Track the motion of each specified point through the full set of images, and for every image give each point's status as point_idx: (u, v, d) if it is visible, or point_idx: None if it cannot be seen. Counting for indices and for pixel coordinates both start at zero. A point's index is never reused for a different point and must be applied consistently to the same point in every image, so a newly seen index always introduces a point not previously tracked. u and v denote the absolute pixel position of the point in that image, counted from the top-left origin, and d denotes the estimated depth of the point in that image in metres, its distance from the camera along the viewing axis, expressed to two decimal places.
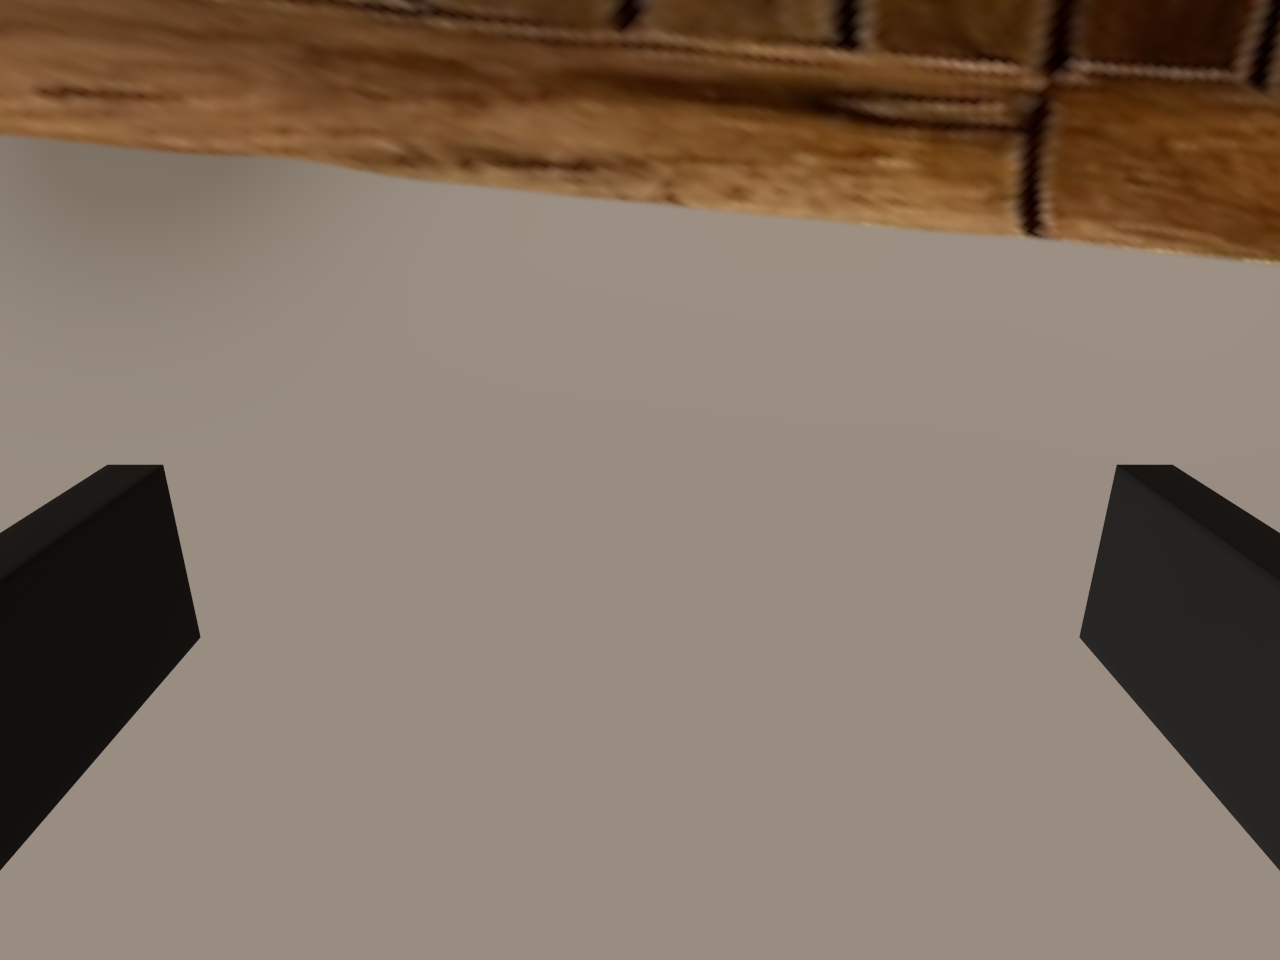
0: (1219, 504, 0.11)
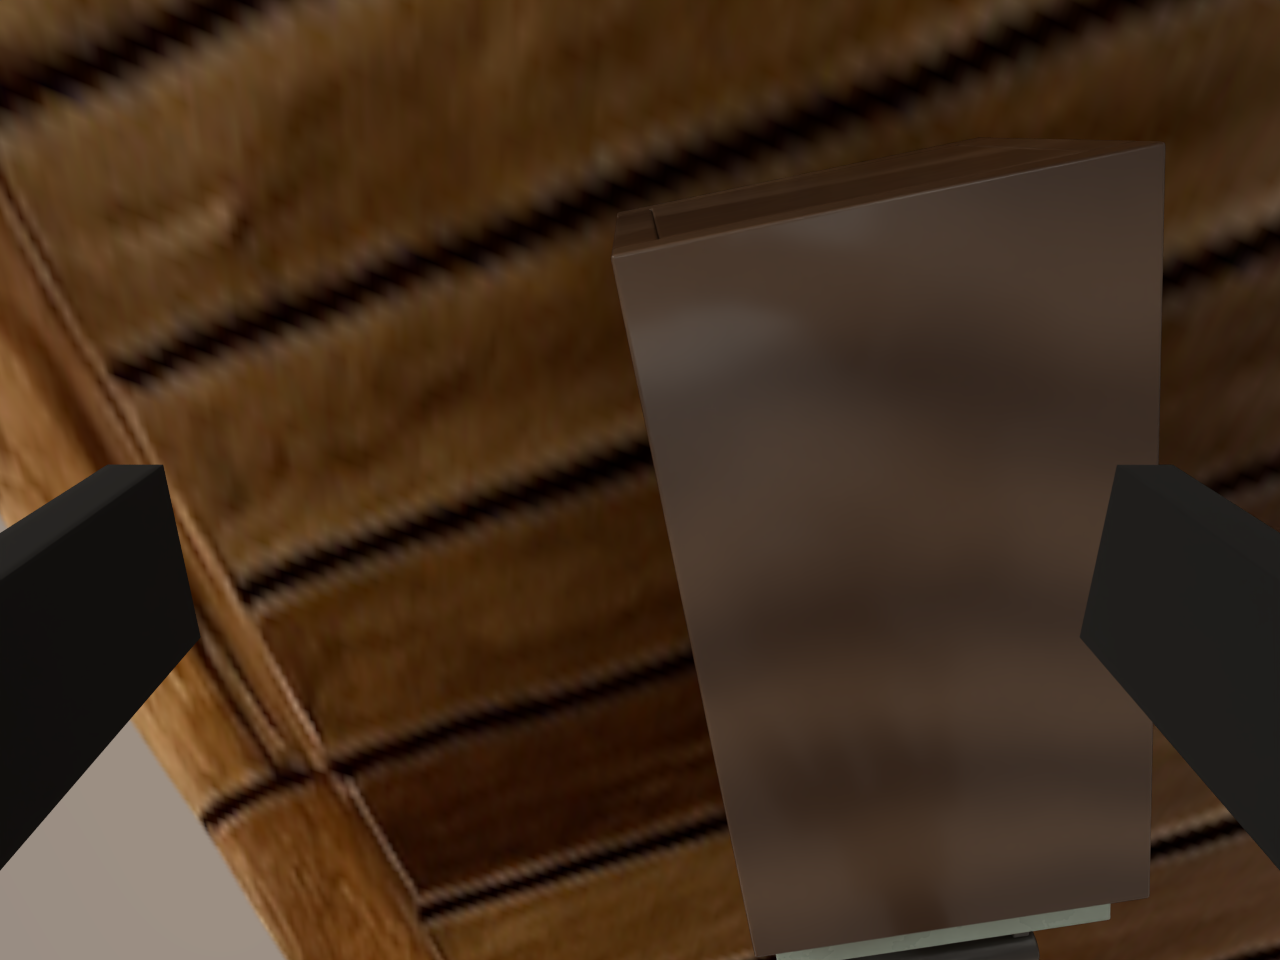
0: (1219, 504, 0.11)
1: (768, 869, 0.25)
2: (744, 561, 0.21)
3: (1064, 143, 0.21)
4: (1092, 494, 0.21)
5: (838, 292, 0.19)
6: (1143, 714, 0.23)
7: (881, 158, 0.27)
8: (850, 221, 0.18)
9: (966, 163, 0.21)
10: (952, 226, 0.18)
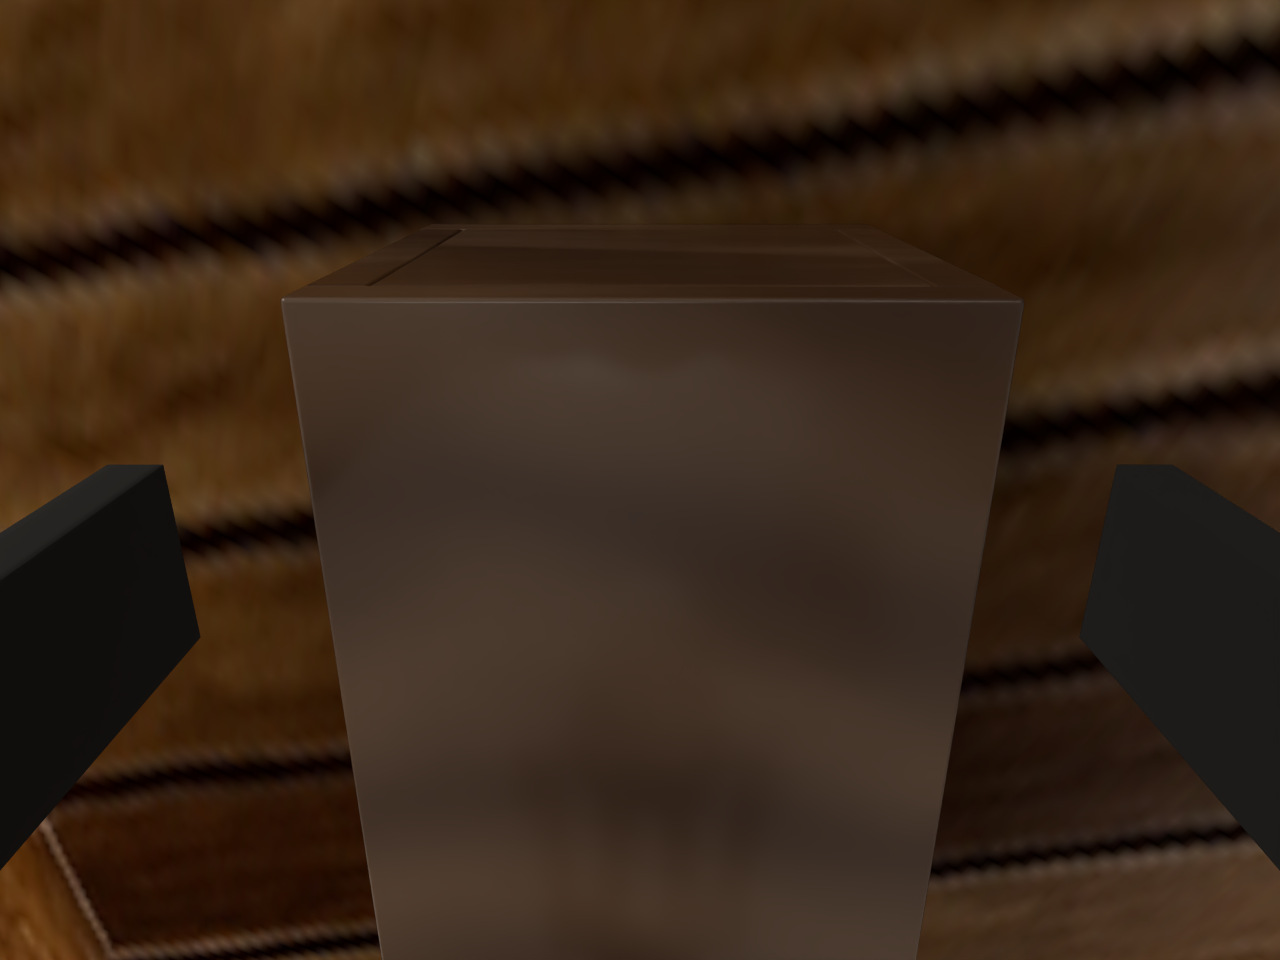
0: (1218, 504, 0.11)
1: None
2: (431, 710, 0.16)
3: (928, 263, 0.17)
4: (875, 707, 0.16)
5: (581, 405, 0.14)
6: None
7: (750, 225, 0.23)
8: (605, 318, 0.14)
9: (805, 263, 0.17)
10: (738, 350, 0.14)
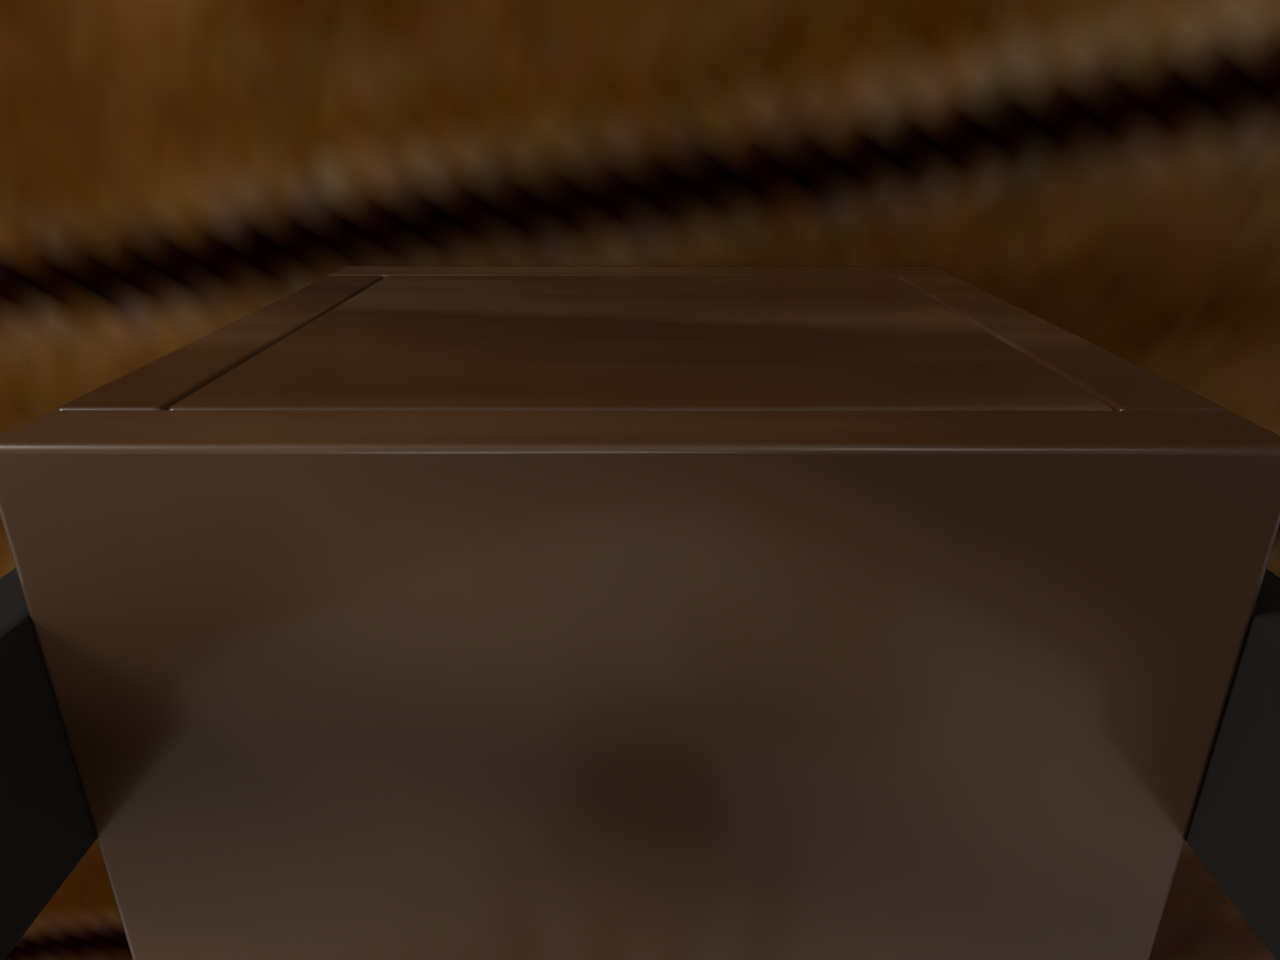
0: None
1: None
2: None
3: (1070, 349, 0.11)
4: None
5: (520, 618, 0.08)
6: None
7: (777, 268, 0.17)
8: (559, 480, 0.08)
9: (880, 348, 0.11)
10: (792, 532, 0.08)
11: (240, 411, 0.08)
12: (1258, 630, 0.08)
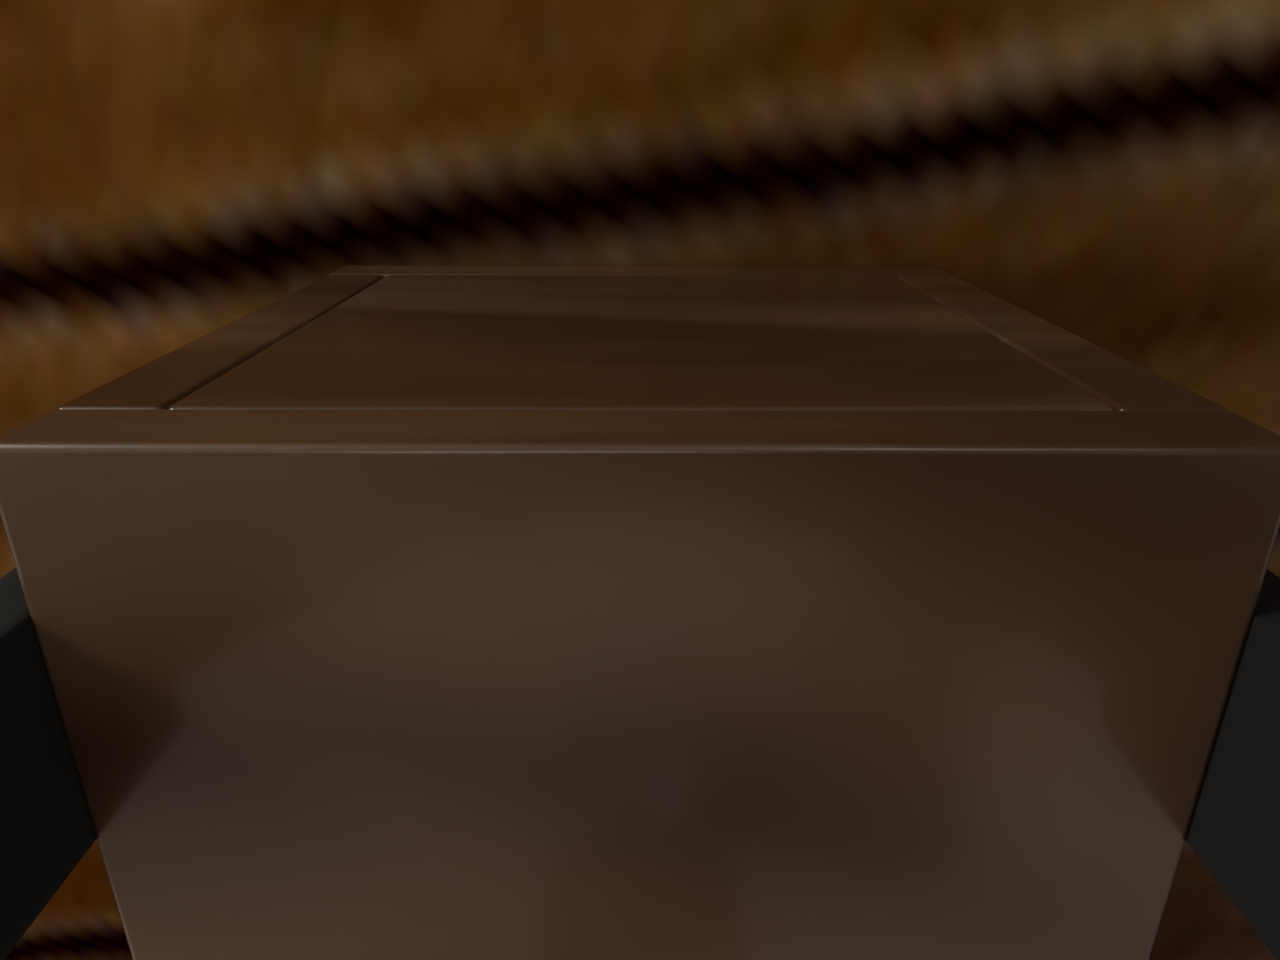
0: None
1: None
2: None
3: (1070, 349, 0.11)
4: None
5: (520, 618, 0.08)
6: None
7: (777, 268, 0.17)
8: (559, 478, 0.08)
9: (880, 348, 0.11)
10: (793, 532, 0.08)
11: (240, 410, 0.08)
12: (1258, 630, 0.08)
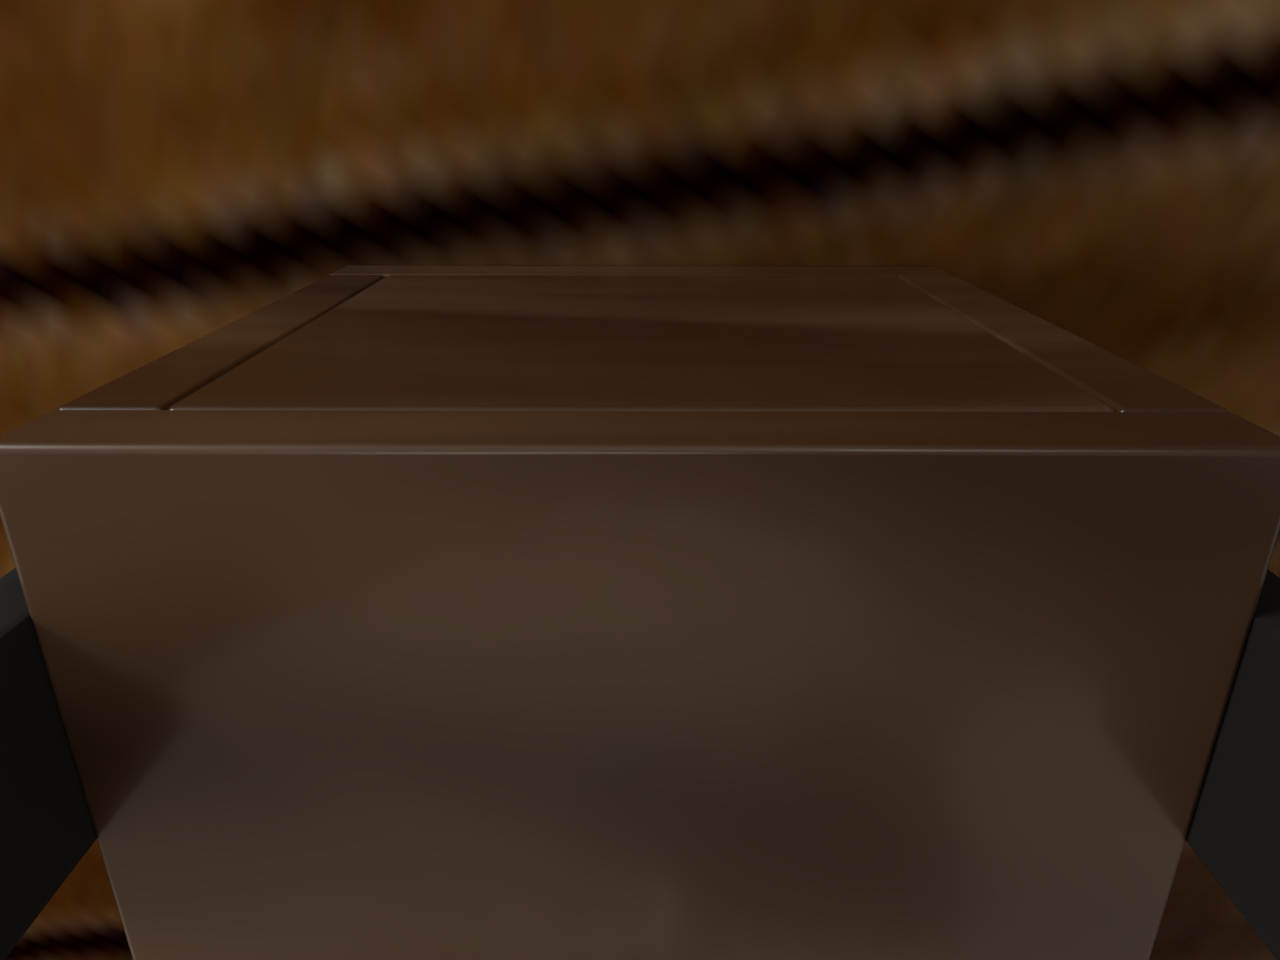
0: None
1: None
2: None
3: (1071, 350, 0.11)
4: None
5: (520, 618, 0.08)
6: None
7: (778, 268, 0.17)
8: (560, 480, 0.08)
9: (881, 349, 0.11)
10: (793, 533, 0.08)
11: (240, 411, 0.08)
12: (1258, 630, 0.08)
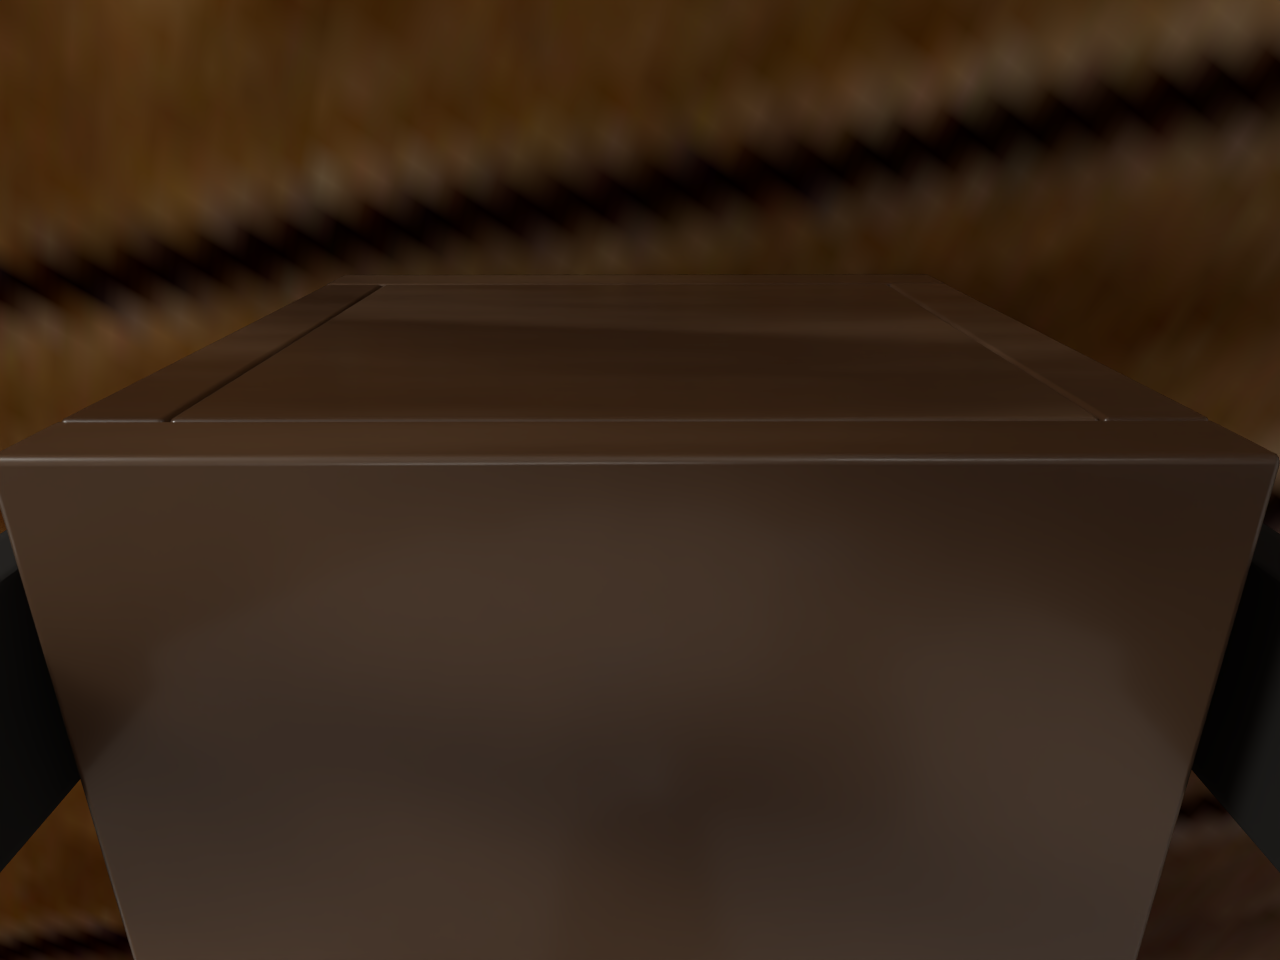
0: None
1: None
2: None
3: (1057, 359, 0.11)
4: None
5: (517, 626, 0.08)
6: None
7: (771, 276, 0.17)
8: (555, 490, 0.08)
9: (871, 358, 0.11)
10: (784, 541, 0.08)
11: (241, 423, 0.09)
12: None
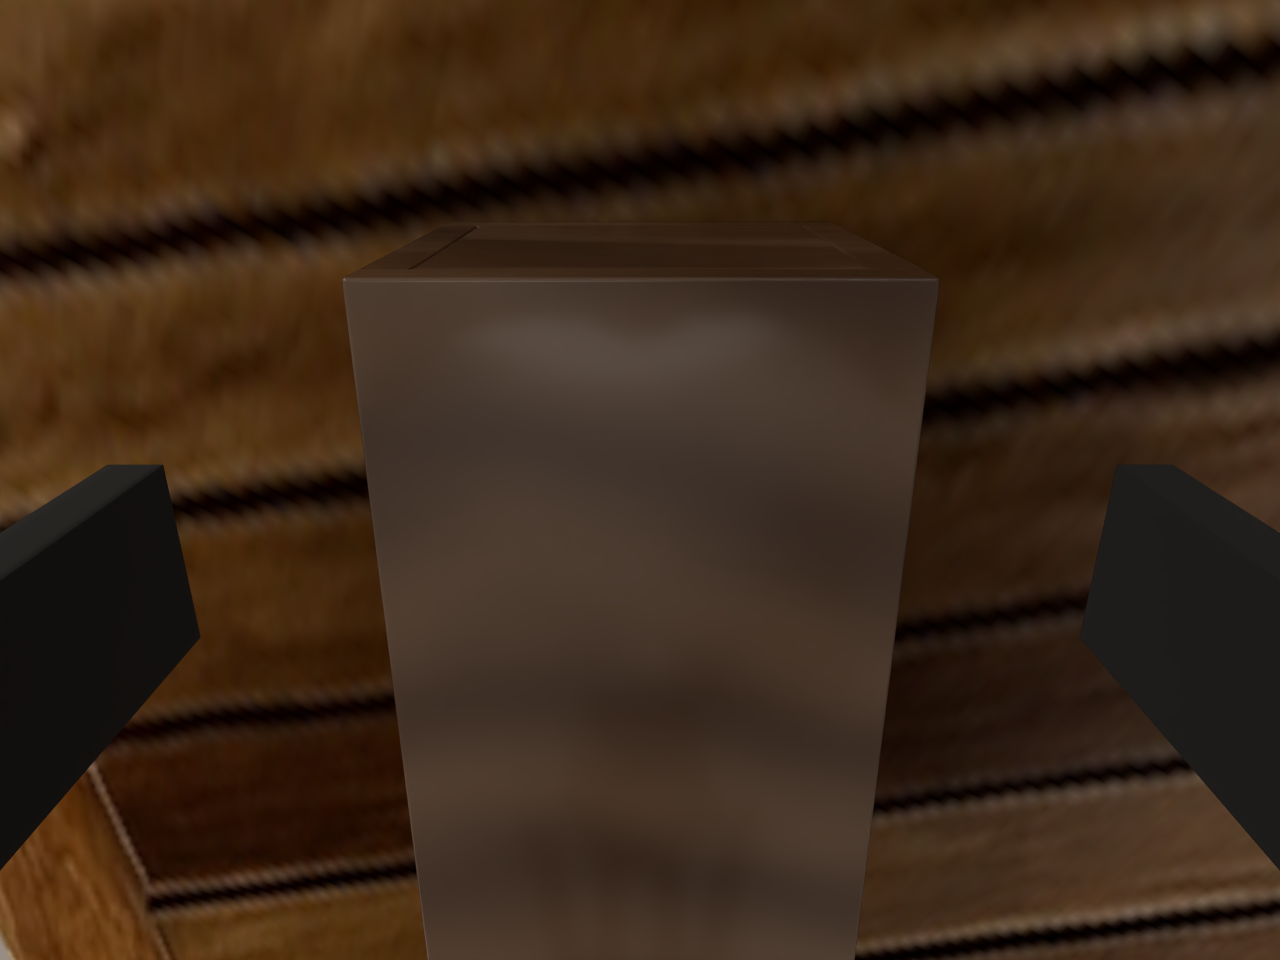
0: (1218, 504, 0.11)
1: (456, 942, 0.23)
2: (459, 625, 0.20)
3: (871, 252, 0.20)
4: (828, 621, 0.20)
5: (584, 365, 0.17)
6: (857, 848, 0.22)
7: (728, 222, 0.26)
8: (604, 293, 0.17)
9: (769, 252, 0.20)
10: (711, 320, 0.17)
11: (449, 269, 0.18)
12: None
